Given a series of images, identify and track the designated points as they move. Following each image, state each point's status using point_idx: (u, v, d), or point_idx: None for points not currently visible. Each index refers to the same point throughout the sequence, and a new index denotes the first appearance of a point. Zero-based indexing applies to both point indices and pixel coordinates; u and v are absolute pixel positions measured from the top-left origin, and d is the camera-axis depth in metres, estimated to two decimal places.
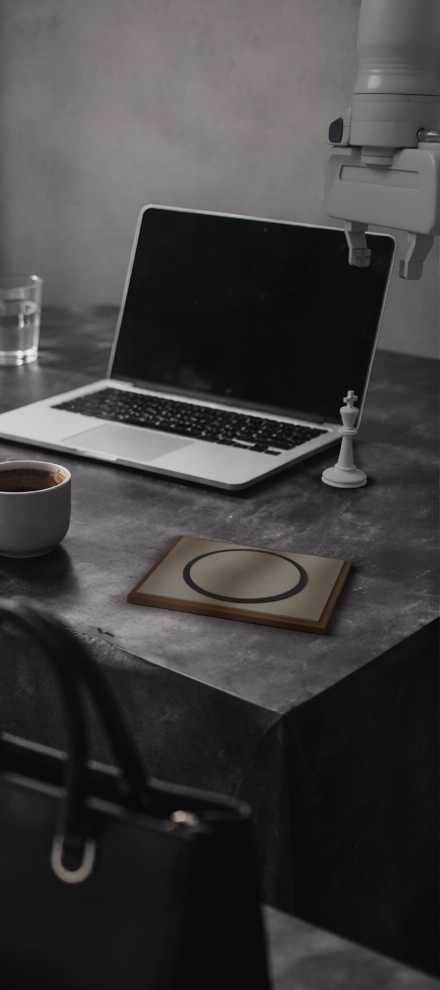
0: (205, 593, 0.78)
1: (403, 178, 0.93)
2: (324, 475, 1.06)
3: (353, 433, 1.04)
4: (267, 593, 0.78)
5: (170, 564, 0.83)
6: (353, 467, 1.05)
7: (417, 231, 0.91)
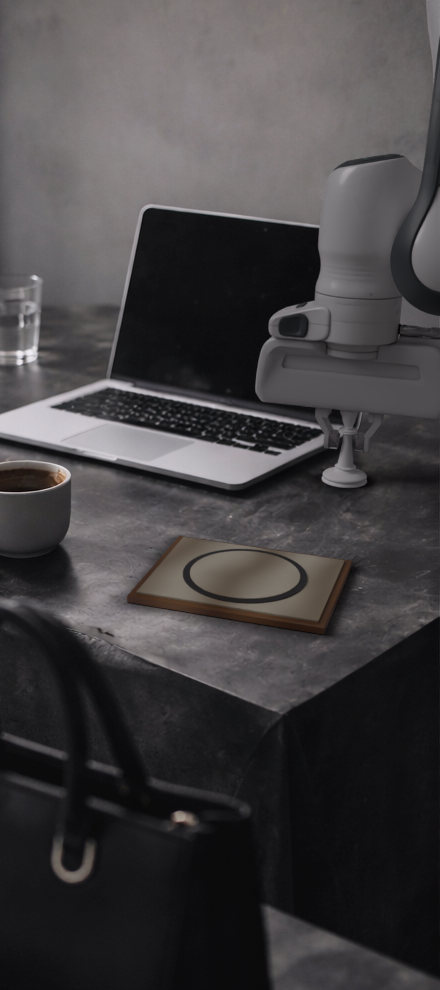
0: (205, 593, 0.78)
1: (392, 370, 1.00)
2: (324, 475, 1.06)
3: (353, 433, 1.04)
4: (267, 593, 0.78)
5: (170, 564, 0.83)
6: (353, 467, 1.05)
7: (420, 417, 1.00)
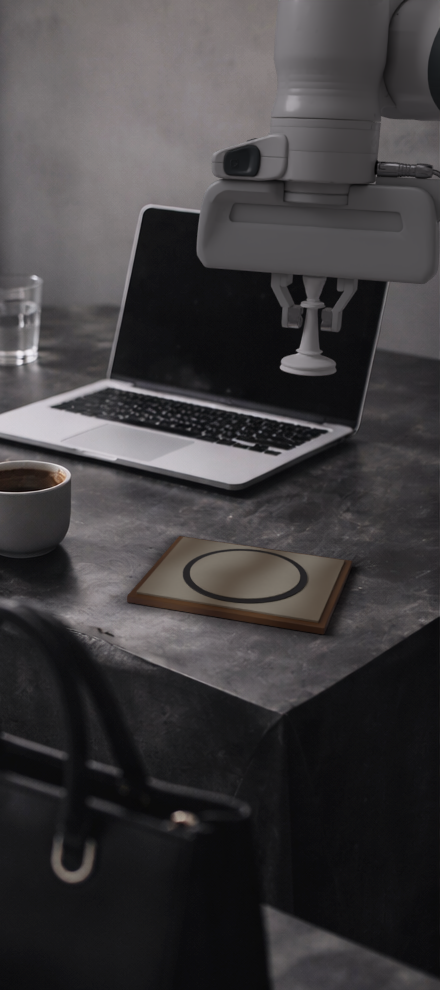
0: (205, 593, 0.78)
1: (367, 220, 0.78)
2: (283, 361, 0.85)
3: (319, 306, 0.83)
4: (267, 593, 0.78)
5: (170, 564, 0.83)
6: (319, 351, 0.84)
7: (402, 280, 0.79)
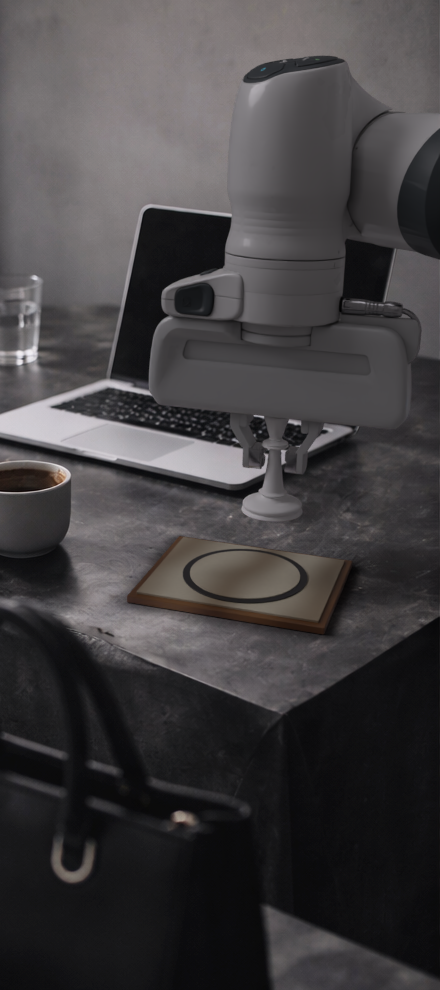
0: (205, 593, 0.78)
1: (331, 361, 0.72)
2: (244, 504, 0.78)
3: (282, 447, 0.76)
4: (267, 593, 0.78)
5: (170, 564, 0.83)
6: (283, 493, 0.78)
7: (371, 426, 0.72)
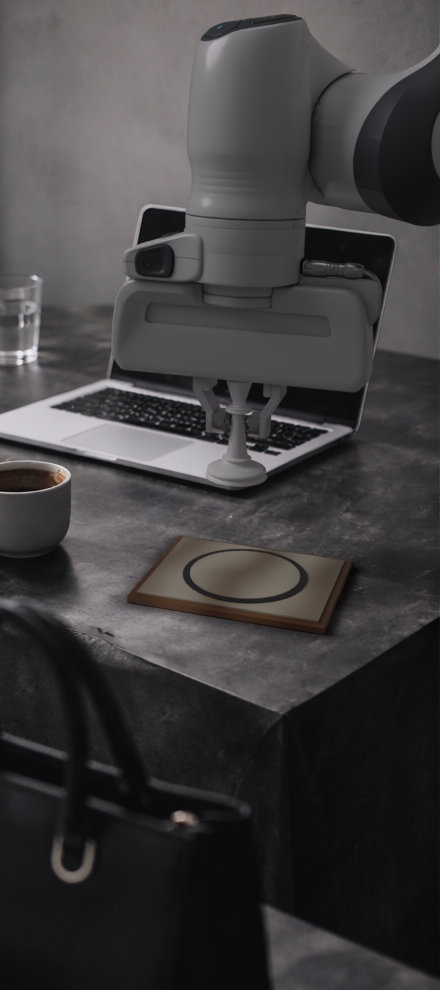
0: (205, 593, 0.78)
1: (292, 323, 0.72)
2: (208, 469, 0.78)
3: (244, 412, 0.76)
4: (267, 593, 0.78)
5: (170, 564, 0.83)
6: (247, 458, 0.78)
7: (332, 388, 0.72)
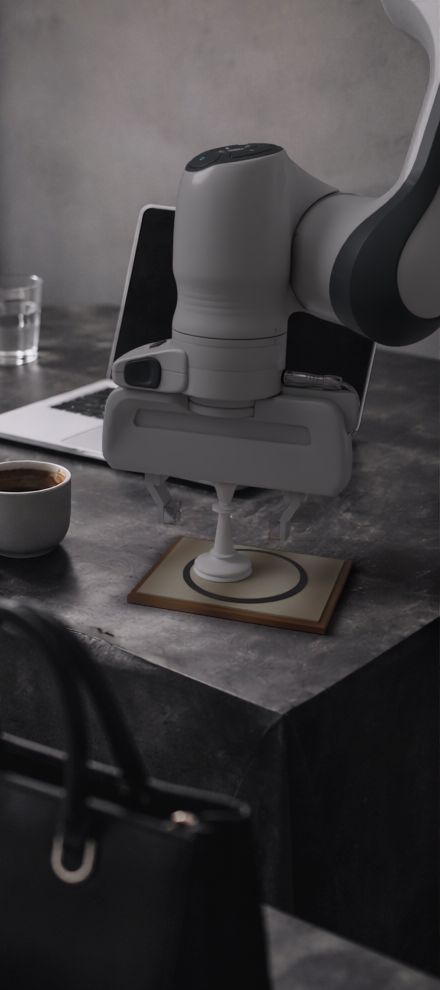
0: (205, 593, 0.78)
1: (274, 431, 0.75)
2: (196, 564, 0.81)
3: (230, 511, 0.79)
4: (267, 593, 0.78)
5: (170, 564, 0.83)
6: (233, 554, 0.81)
7: (312, 492, 0.76)
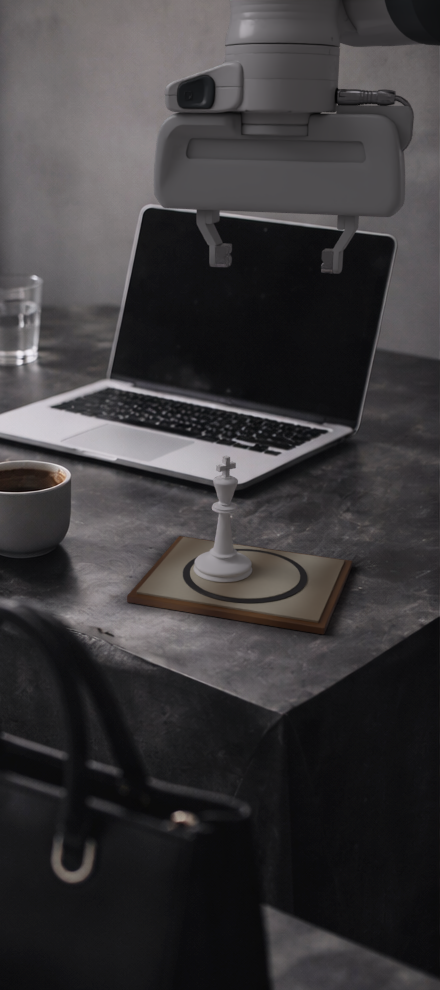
0: (205, 593, 0.78)
1: (328, 151, 0.75)
2: (196, 564, 0.81)
3: (230, 511, 0.79)
4: (267, 593, 0.78)
5: (170, 564, 0.83)
6: (233, 554, 0.81)
7: (367, 214, 0.76)
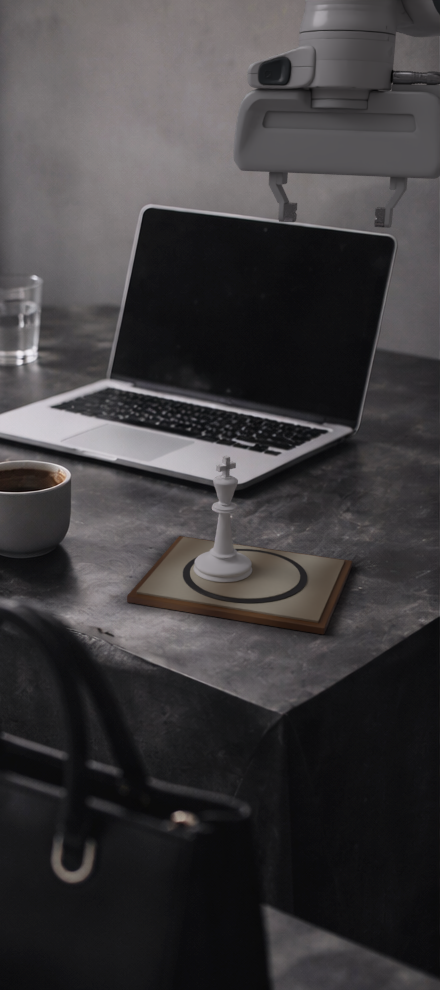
0: (205, 593, 0.78)
1: (384, 122, 0.90)
2: (196, 564, 0.81)
3: (230, 511, 0.79)
4: (267, 593, 0.78)
5: (170, 564, 0.83)
6: (233, 554, 0.81)
7: (415, 175, 0.90)
